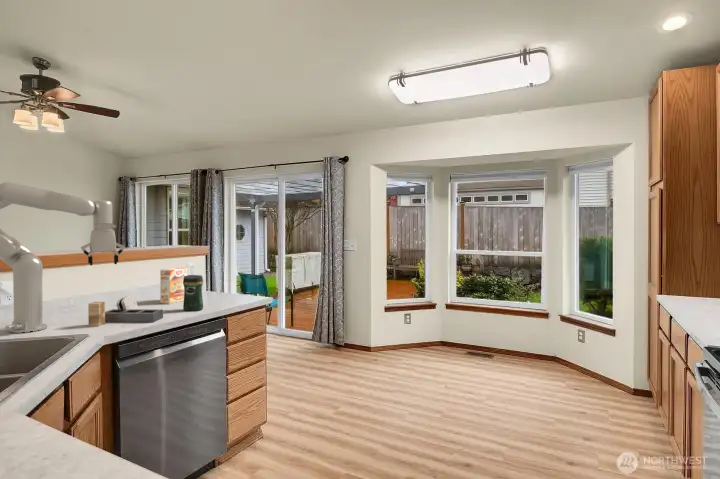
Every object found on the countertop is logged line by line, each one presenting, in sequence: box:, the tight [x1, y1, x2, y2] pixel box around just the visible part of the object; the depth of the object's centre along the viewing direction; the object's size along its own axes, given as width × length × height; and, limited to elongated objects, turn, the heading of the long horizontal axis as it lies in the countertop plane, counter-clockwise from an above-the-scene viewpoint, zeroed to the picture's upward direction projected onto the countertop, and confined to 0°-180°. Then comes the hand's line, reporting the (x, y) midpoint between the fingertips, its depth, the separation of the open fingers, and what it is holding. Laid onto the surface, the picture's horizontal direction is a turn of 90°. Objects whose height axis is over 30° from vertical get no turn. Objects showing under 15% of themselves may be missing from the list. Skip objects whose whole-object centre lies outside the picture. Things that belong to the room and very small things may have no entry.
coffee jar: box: [182, 274, 204, 312], centre depth 222 cm, size 10×8×19 cm
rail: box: [105, 308, 164, 323], centre depth 197 cm, size 10×24×4 cm, turn 91°
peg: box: [87, 301, 106, 327], centre depth 186 cm, size 4×4×10 cm
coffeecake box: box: [159, 267, 189, 305], centre depth 246 cm, size 15×7×20 cm, turn 162°
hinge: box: [115, 295, 142, 309], centre depth 211 cm, size 17×5×10 cm, turn 12°
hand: (103, 264), depth 193 cm, fingers open, 9 cm apart
